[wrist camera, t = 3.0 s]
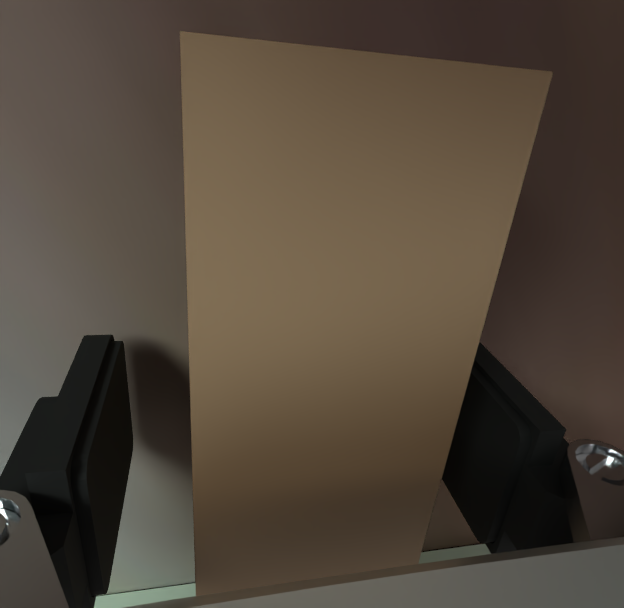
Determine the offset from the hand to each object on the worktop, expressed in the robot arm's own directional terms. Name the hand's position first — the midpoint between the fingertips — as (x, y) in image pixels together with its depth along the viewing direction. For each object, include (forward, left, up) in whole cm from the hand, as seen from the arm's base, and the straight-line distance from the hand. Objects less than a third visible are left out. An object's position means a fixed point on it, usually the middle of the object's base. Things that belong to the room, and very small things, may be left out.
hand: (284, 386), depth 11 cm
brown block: (-1, 0, -1) cm, 1 cm away
